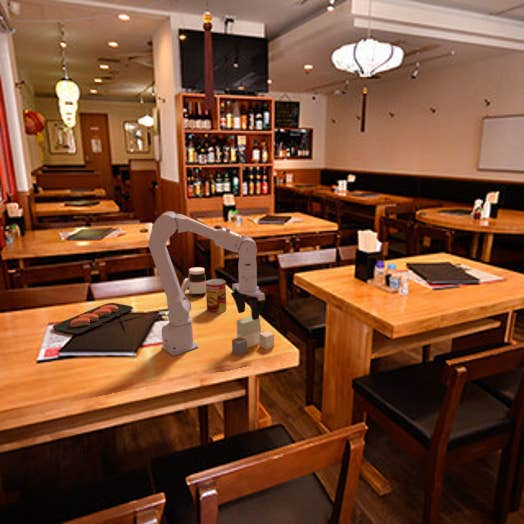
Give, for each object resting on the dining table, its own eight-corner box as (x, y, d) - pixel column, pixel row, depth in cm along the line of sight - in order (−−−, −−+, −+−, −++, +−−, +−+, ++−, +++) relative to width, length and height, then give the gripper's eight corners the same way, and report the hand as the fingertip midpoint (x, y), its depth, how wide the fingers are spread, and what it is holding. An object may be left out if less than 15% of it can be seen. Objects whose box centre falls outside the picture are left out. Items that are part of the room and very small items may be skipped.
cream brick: (243, 349, 133) (243, 336, 132) (237, 345, 136) (237, 333, 135) (260, 342, 138) (260, 330, 137) (254, 339, 140) (253, 327, 139)
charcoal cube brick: (238, 356, 129) (238, 343, 128) (232, 352, 131) (231, 339, 130) (247, 353, 131) (247, 340, 130) (241, 349, 133) (240, 336, 132)
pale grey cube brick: (266, 349, 133) (266, 337, 132) (259, 346, 136) (259, 333, 134) (274, 346, 135) (274, 334, 134) (267, 343, 138) (267, 330, 136)
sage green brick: (253, 327, 139) (253, 315, 138) (260, 330, 137) (260, 318, 136) (237, 333, 135) (236, 320, 134) (243, 336, 132) (242, 323, 131)
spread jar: (207, 296, 183) (207, 271, 180) (182, 299, 180) (180, 273, 177) (204, 288, 195) (203, 264, 192) (179, 290, 192) (178, 266, 189)
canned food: (203, 310, 167) (201, 282, 164) (216, 305, 173) (215, 277, 170) (217, 314, 162) (216, 285, 159) (230, 309, 168) (229, 280, 165)
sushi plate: (110, 306, 175) (109, 297, 174) (166, 317, 162) (166, 308, 161) (49, 331, 150) (48, 322, 149) (110, 347, 137) (109, 337, 136)
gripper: (272, 278, 128) (272, 319, 131) (244, 268, 139) (244, 306, 142) (254, 282, 124) (254, 324, 127) (226, 272, 135) (228, 311, 138)
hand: (248, 315), depth 134 cm, fingers open, 7 cm apart
